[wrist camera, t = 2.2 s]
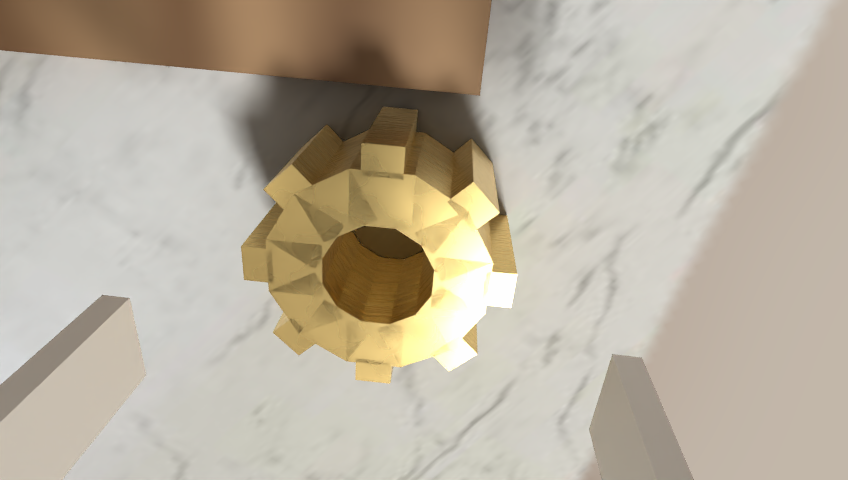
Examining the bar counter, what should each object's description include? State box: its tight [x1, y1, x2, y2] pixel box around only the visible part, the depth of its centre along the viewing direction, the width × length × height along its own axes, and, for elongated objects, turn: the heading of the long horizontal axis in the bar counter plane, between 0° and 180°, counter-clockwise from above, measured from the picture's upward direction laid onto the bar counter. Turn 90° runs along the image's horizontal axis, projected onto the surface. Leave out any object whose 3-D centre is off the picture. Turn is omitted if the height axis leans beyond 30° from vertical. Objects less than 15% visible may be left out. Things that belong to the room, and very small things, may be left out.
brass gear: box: [241, 107, 517, 383], centre depth 21 cm, size 10×10×5 cm
